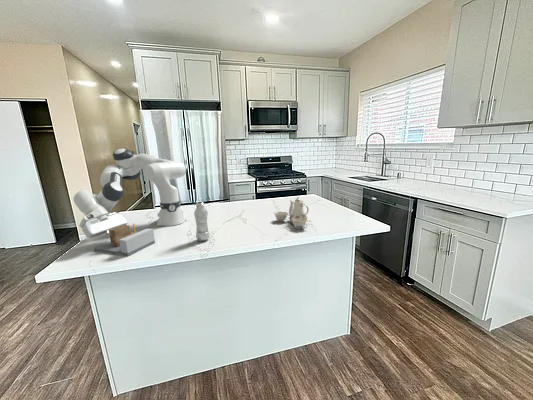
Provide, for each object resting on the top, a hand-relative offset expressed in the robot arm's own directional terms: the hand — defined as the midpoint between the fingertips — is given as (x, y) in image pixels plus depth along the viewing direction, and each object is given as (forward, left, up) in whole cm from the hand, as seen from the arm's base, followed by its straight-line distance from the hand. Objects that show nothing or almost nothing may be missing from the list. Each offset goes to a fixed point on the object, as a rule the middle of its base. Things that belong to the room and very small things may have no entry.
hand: (116, 237), depth 121 cm
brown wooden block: (0, +4, -3) cm, 5 cm away
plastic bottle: (+17, +38, -5) cm, 42 cm away
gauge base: (+3, +3, -5) cm, 7 cm away
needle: (0, +8, -3) cm, 9 cm away
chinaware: (+23, +93, -5) cm, 96 cm away
